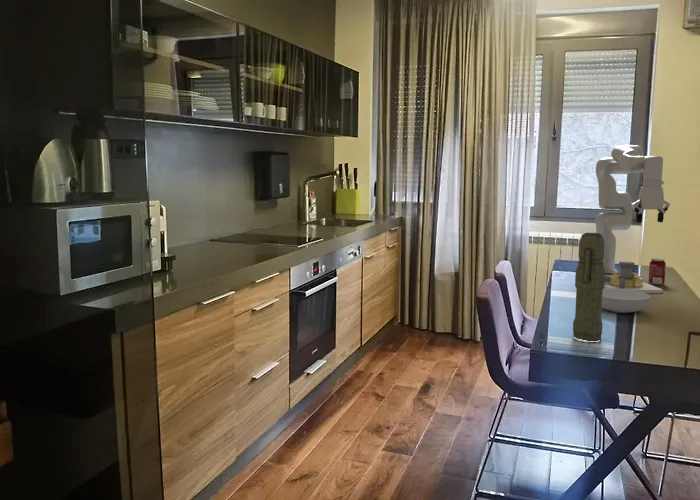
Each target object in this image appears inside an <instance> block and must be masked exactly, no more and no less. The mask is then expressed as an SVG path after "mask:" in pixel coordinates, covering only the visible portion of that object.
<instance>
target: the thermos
mask: <svg viewBox="0 0 700 500" xmlns="http://www.w3.org/2000/svg"><path fill="white" fill-rule="evenodd" d="M604 245H605V243H604V239H603V236H602V235H600V234H599V233H597V232H584V233H582V235H581V236H580V240H579V242H578V255H577V256H578V261H577V266H576V269H575V277H574V278H575V281H574V282H575V283H574V287H575V288H576V289H575V290H576V292H575V311H574V312H575V314H574V319H573V321H572V332H573V333H572V334H573V336H574V337H576V338H578V339H582V340H587V341H598V340H601V341H602V334H603V320H602V310H603V308H602V291H603V289H604V284H605V277H606V273H605V270H604V266H603V264H604V263H603V258H604ZM573 336H572V337H573Z"/></svg>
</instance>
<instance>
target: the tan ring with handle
mask: <svg viewBox="0 0 700 500" xmlns="http://www.w3.org/2000/svg"><path fill="white" fill-rule="evenodd" d="M620 278H621V275H620V272H619V271H617V272H613V273H612V274H611V275H609V276H605V283H610V284H612V285H616V286H620ZM643 282H644V279H643V277H641V276H639V273H638V272H637V273H636V272H632V279H625V287H638V286H642V285H643Z"/></svg>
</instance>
